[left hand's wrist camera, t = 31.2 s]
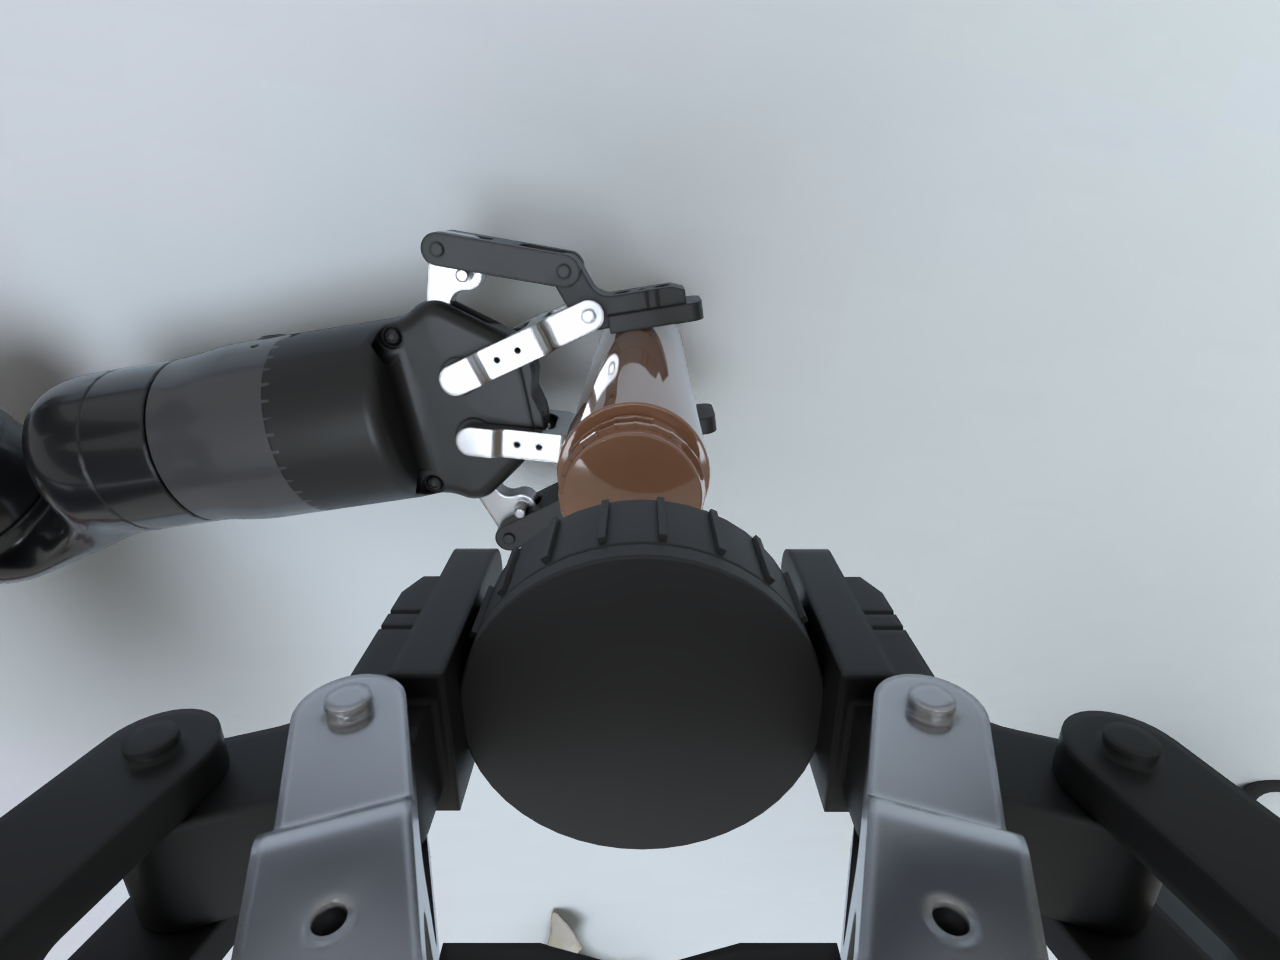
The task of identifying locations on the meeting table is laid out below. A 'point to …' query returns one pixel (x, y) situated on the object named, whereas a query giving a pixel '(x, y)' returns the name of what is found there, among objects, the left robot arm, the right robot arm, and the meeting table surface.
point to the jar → (635, 426)
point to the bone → (563, 935)
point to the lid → (642, 677)
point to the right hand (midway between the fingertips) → (705, 363)
